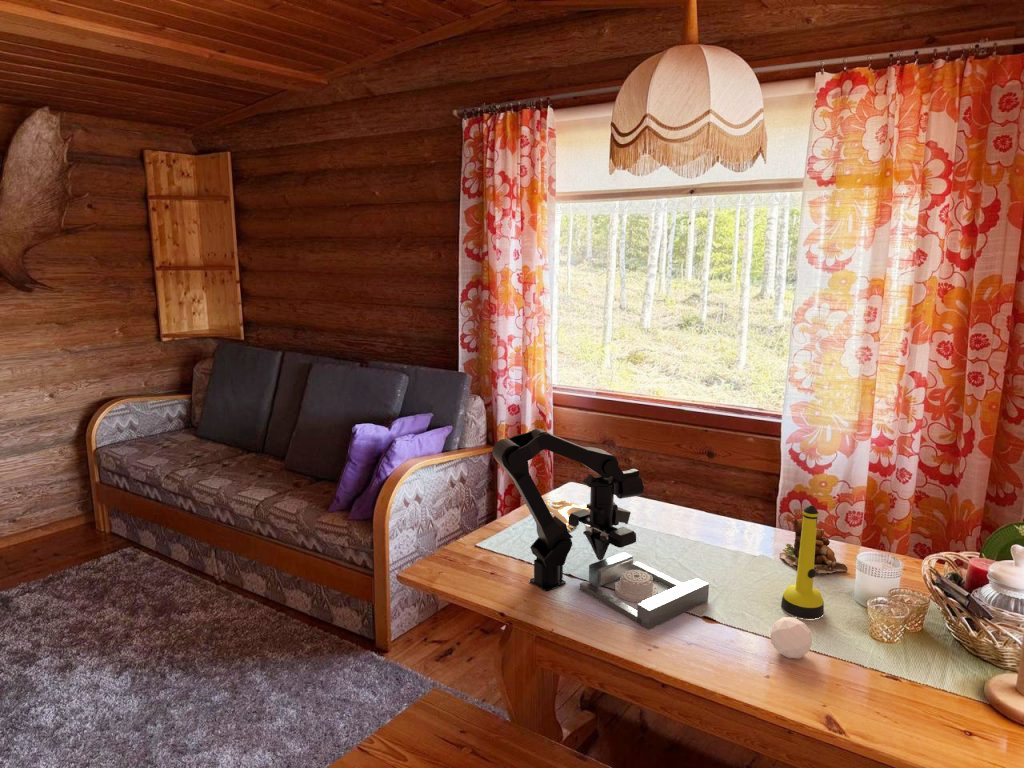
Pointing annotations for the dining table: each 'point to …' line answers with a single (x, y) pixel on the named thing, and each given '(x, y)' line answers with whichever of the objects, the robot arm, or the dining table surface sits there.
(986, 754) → the dining table surface
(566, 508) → the unicorn
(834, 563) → the mossy log pile
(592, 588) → the vise
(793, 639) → the ball
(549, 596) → the dining table surface
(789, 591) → the flashlight
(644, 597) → the mechanical component
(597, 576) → the block
